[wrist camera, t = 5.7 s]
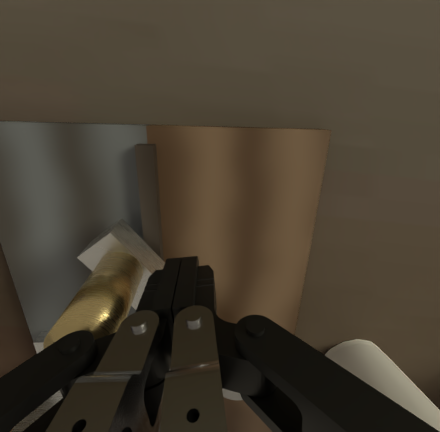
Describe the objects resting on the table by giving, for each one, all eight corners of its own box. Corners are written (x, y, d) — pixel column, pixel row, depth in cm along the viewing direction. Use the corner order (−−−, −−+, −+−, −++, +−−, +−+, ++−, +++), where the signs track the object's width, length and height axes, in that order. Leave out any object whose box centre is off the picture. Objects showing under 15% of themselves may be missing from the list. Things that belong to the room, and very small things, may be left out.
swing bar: (268, 360, 20) (300, 478, 13) (232, 380, 21) (245, 502, 14) (129, 212, 15) (70, 288, 8) (85, 245, 15) (-3, 341, 9)
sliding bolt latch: (320, 129, 16) (341, 131, 14) (269, 439, 29) (275, 469, 26) (-18, 120, 15) (-63, 121, 13) (82, 450, 28) (69, 484, 25)
